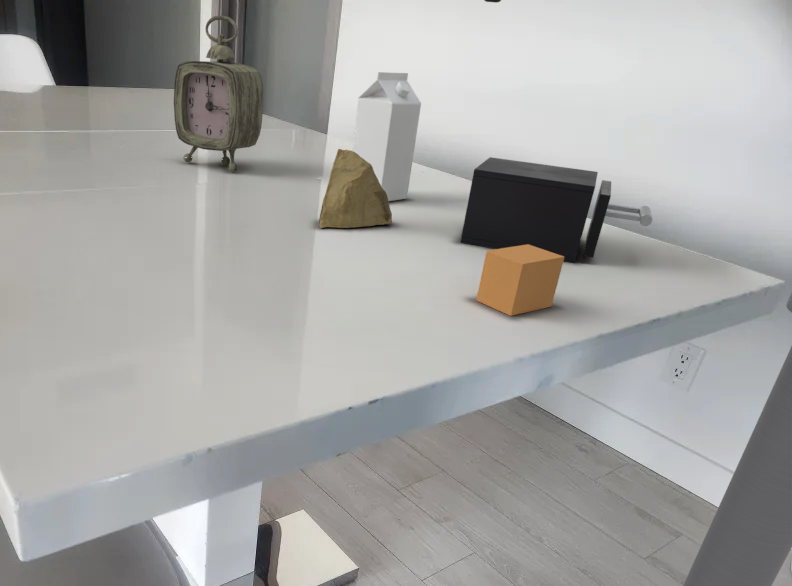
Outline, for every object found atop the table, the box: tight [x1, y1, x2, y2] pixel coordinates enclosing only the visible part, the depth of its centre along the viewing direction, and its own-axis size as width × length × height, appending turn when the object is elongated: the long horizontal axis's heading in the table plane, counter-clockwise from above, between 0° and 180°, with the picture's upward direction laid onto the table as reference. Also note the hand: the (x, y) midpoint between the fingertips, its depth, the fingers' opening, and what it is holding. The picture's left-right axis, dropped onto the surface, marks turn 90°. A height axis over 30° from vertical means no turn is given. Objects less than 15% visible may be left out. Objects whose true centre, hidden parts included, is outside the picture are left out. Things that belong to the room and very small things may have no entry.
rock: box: [318, 148, 393, 229], centre depth 93 cm, size 11×9×10 cm
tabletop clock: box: [173, 15, 264, 173], centre depth 121 cm, size 14×9×25 cm, turn 56°
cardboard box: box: [476, 244, 565, 317], centre depth 69 cm, size 6×5×5 cm
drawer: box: [582, 179, 653, 259], centre depth 89 cm, size 19×11×8 cm, turn 66°
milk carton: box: [352, 71, 422, 202], centre depth 108 cm, size 7×7×19 cm
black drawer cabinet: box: [460, 156, 599, 264], centre depth 91 cm, size 15×13×10 cm
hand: (498, 0), depth 82 cm, fingers open, 8 cm apart
